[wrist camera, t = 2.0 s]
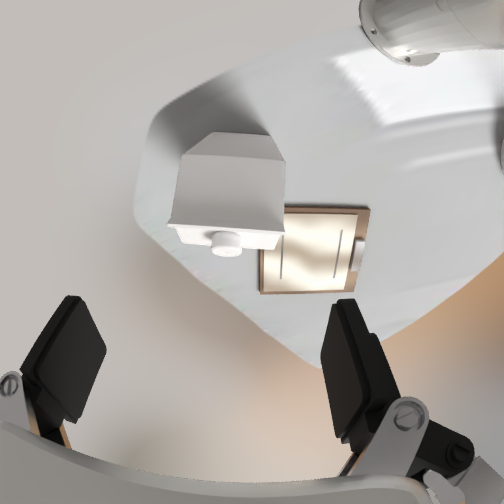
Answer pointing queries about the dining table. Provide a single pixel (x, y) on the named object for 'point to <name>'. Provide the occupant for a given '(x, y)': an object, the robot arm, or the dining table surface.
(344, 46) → the dining table surface
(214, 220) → the milk carton
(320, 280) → the clipboard
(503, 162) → the flag stand
